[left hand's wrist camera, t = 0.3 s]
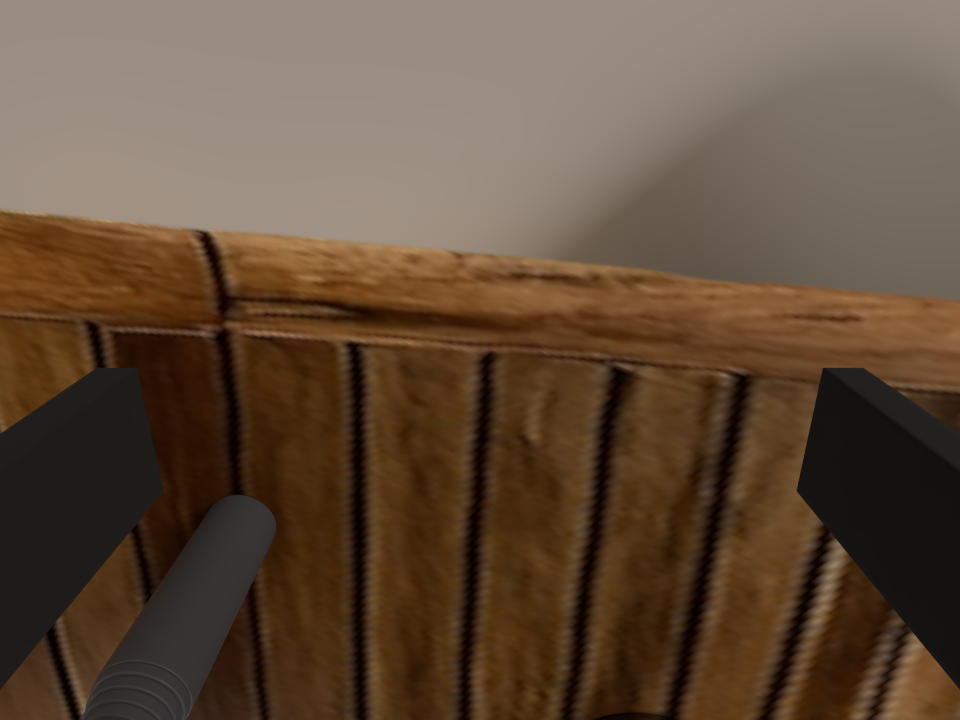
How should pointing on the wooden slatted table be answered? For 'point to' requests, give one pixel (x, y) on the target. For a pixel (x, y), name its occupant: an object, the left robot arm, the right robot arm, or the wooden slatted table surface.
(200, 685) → the bottle
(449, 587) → the wooden slatted table surface
